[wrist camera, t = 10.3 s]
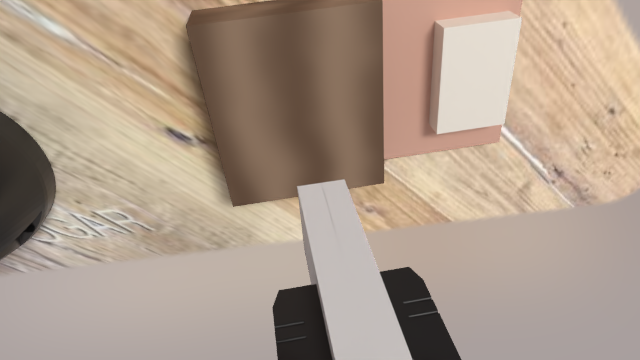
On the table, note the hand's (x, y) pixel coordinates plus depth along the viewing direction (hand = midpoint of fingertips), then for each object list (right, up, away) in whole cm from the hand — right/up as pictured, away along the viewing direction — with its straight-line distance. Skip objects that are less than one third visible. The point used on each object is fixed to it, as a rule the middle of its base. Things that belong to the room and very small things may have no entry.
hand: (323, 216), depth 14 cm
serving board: (-2, +8, +22) cm, 24 cm away
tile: (+12, +9, +21) cm, 26 cm away
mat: (+10, +10, +23) cm, 27 cm away
